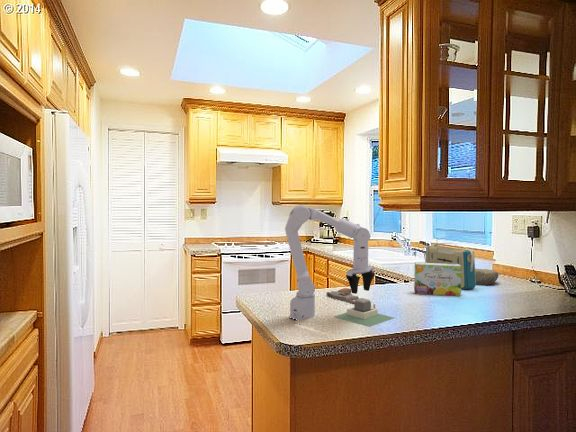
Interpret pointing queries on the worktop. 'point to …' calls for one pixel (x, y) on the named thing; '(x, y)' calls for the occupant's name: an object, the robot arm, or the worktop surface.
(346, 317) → the board
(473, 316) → the worktop surface
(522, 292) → the worktop surface
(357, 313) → the socket
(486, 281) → the stone
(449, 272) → the snack box
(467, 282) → the radio
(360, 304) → the plug
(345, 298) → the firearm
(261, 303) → the worktop surface
